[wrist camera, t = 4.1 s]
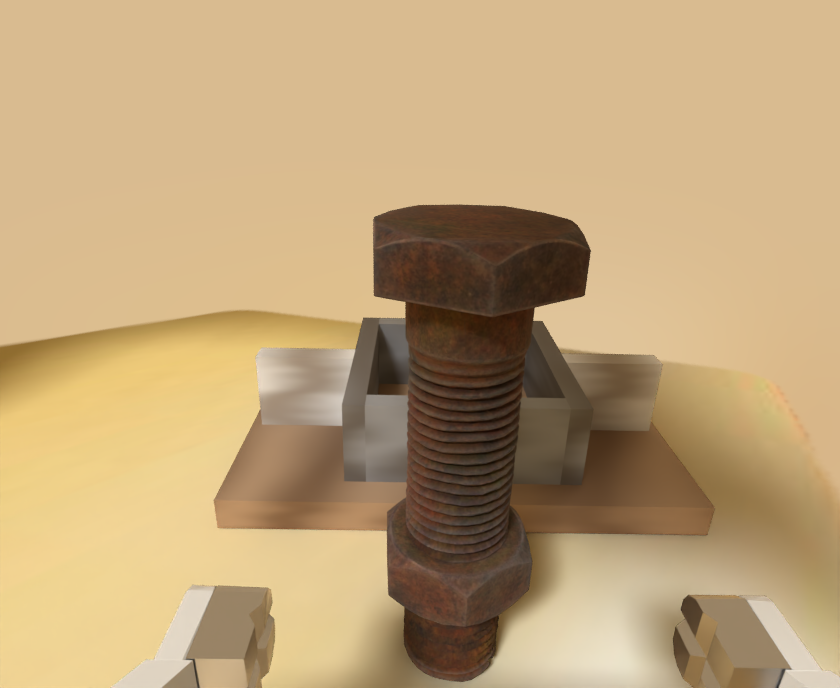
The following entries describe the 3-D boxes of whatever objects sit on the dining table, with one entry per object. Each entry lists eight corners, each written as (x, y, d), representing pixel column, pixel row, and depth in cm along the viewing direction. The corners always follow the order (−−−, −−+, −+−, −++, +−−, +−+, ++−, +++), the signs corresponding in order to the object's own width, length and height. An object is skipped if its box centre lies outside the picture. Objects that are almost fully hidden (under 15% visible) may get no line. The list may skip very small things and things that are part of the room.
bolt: (421, 761, 17) (440, 254, 11) (341, 636, 20) (324, 212, 15) (560, 662, 20) (633, 226, 14) (468, 570, 23) (495, 198, 18)
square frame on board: (217, 527, 25) (202, 420, 23) (284, 385, 38) (278, 307, 36) (707, 534, 26) (736, 429, 24) (609, 391, 39) (623, 314, 36)
